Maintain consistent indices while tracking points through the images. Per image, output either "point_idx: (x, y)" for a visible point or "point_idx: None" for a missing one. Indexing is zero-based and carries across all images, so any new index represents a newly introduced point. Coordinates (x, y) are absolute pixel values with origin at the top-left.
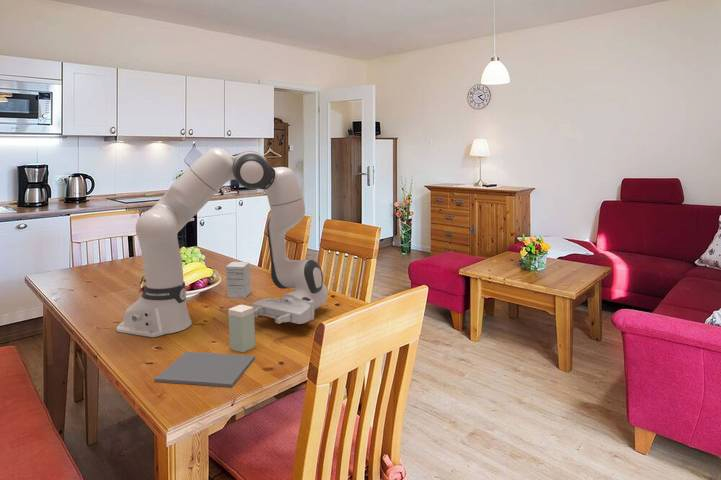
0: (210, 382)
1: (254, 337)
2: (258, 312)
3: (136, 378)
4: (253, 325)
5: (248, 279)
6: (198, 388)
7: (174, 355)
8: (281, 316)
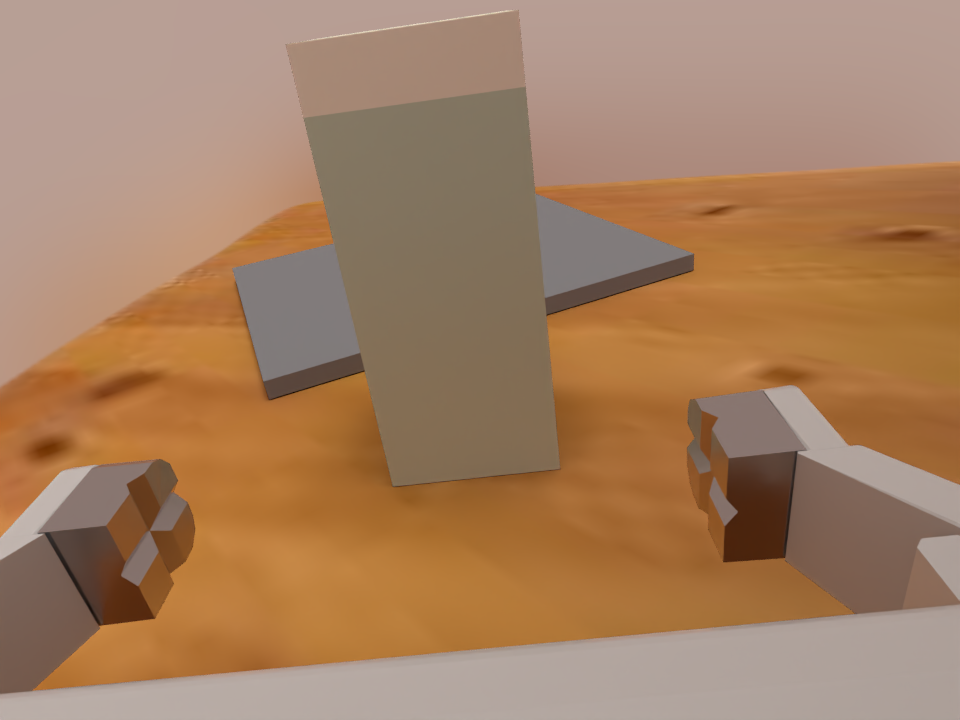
0: (324, 246)
1: (374, 402)
2: (726, 480)
3: (614, 191)
4: (345, 274)
5: None
6: None
7: (725, 250)
8: (20, 531)
